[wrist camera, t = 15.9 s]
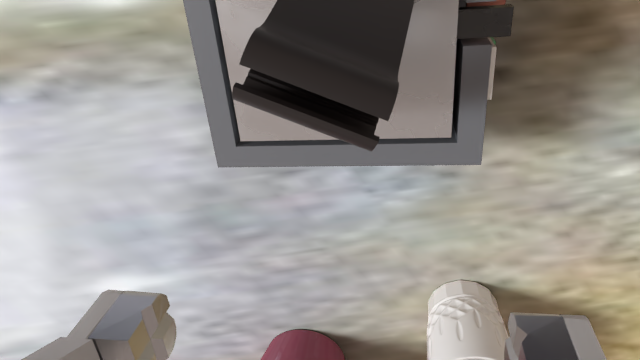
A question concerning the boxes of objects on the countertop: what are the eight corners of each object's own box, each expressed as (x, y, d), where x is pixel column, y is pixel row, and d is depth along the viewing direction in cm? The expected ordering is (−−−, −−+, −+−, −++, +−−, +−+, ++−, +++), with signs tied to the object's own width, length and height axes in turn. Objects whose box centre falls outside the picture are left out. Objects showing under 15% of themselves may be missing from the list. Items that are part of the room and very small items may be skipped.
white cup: (491, 267, 47) (513, 349, 38) (509, 324, 50) (533, 412, 42) (412, 284, 49) (415, 365, 41) (434, 337, 53) (442, 423, 44)
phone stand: (318, -71, 26) (268, -50, 16) (421, -28, 27) (437, 19, 16) (271, 79, 31) (209, 170, 20) (359, 114, 31) (341, 220, 21)
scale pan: (523, -124, 25) (528, -125, 24) (496, 128, 32) (500, 136, 31) (206, -93, 27) (198, -93, 26) (245, 134, 34) (240, 141, 33)
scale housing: (490, -156, 31) (522, -174, 23) (470, 112, 39) (488, 164, 32) (210, -126, 33) (155, -132, 26) (250, 118, 42) (218, 167, 35)
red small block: (503, -3, 29) (505, -1, 29) (501, 25, 30) (502, 27, 30) (466, 0, 30) (467, 1, 29) (464, 26, 31) (465, 29, 30)
